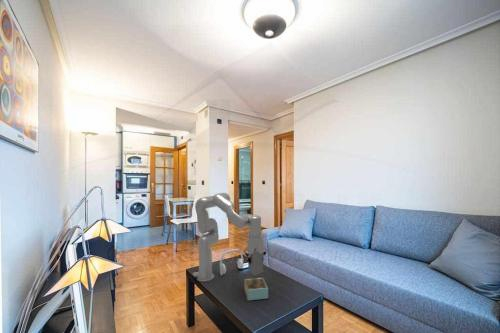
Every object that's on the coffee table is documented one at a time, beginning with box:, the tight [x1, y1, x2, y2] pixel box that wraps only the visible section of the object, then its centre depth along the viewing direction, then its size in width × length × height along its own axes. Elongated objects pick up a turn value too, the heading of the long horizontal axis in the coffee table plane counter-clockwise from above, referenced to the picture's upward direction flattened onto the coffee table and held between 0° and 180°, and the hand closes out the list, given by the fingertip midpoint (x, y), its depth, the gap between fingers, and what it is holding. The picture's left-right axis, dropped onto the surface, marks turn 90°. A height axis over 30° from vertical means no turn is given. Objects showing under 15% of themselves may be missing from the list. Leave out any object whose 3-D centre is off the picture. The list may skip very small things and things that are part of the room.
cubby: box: [243, 277, 269, 299], centre depth 140 cm, size 13×12×7 cm
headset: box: [219, 248, 244, 276], centre depth 169 cm, size 20×7×18 cm, turn 124°
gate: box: [246, 287, 269, 301], centre depth 133 cm, size 13×1×6 cm, turn 100°
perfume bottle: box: [247, 248, 264, 276], centre depth 140 cm, size 7×7×18 cm
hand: (255, 262), depth 140 cm, fingers closed on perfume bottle, 7 cm apart
